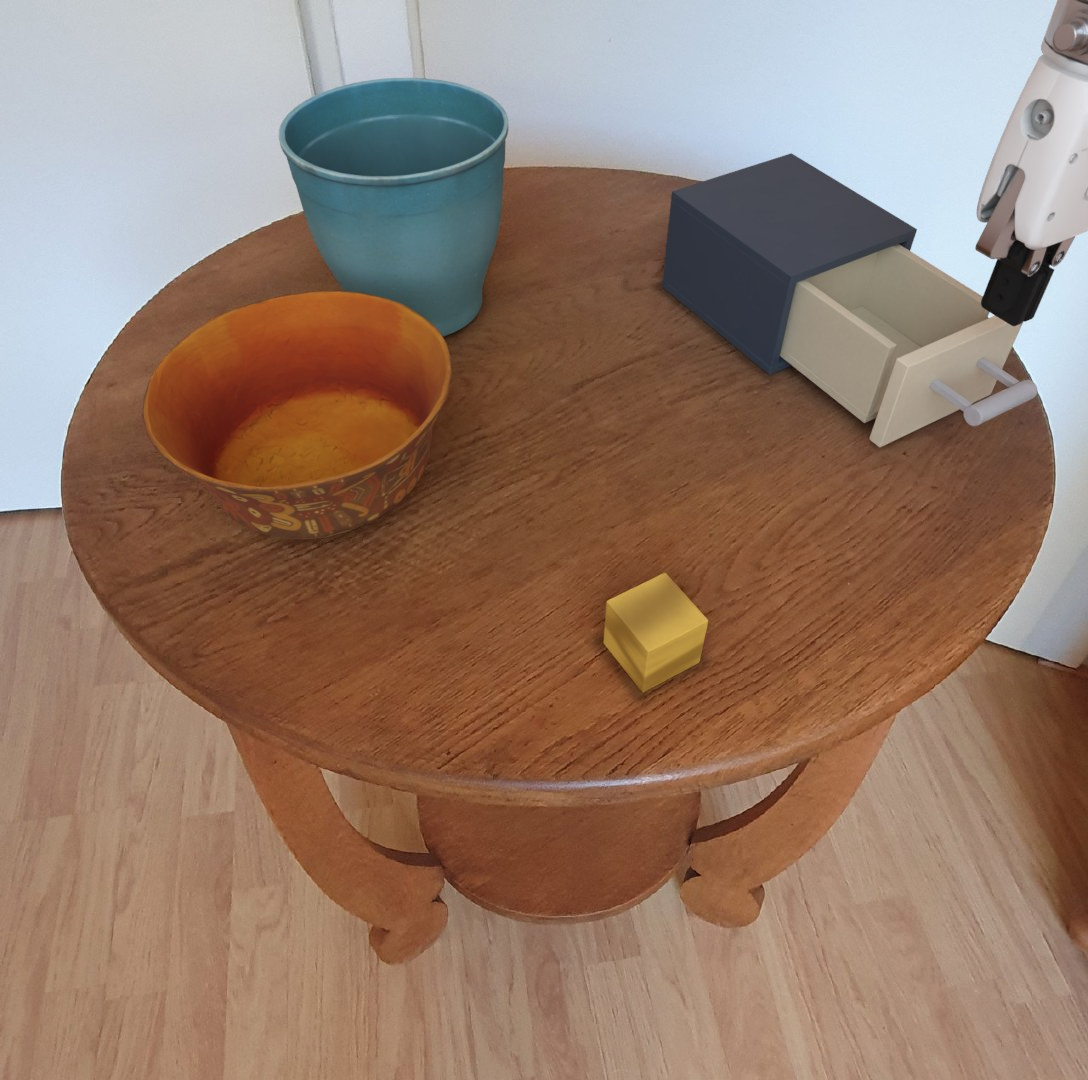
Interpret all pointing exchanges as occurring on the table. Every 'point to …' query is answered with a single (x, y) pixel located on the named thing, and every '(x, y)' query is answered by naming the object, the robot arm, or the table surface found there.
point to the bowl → (302, 409)
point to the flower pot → (403, 189)
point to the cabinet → (766, 247)
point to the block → (654, 631)
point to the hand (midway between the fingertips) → (1005, 313)
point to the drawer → (901, 344)
